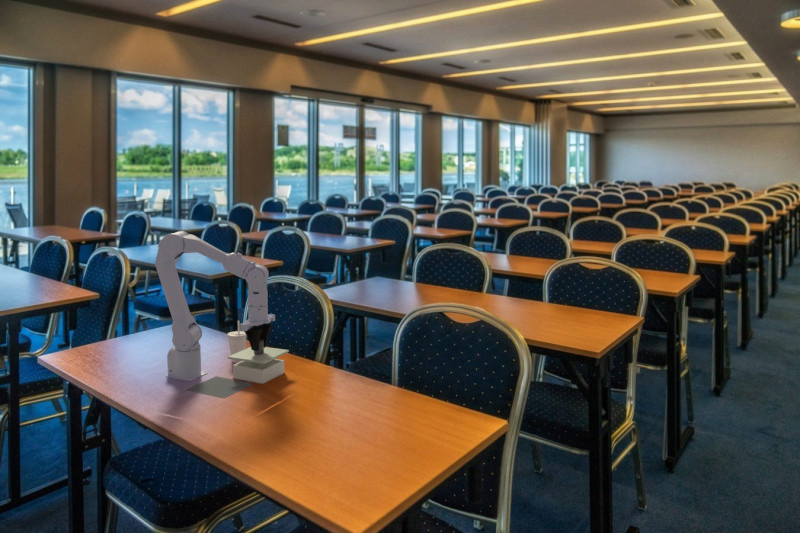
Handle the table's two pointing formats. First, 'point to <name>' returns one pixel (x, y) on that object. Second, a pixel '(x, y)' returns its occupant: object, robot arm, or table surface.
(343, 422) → the table surface
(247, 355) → the lid
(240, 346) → the smoothie
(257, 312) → the robot arm
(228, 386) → the mat
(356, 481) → the table surface
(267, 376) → the dish
